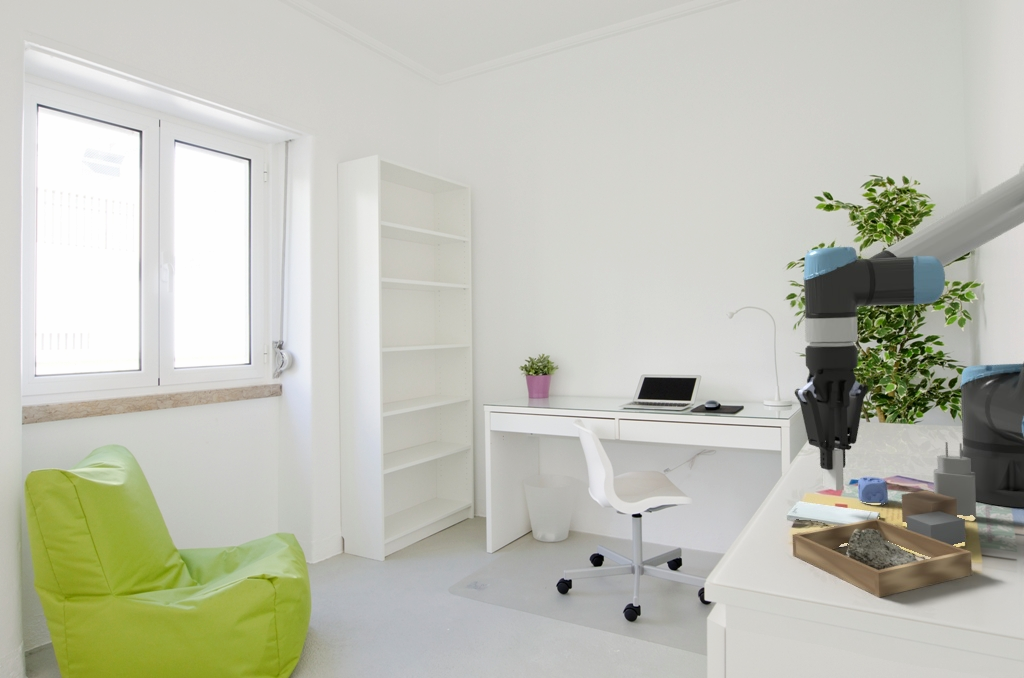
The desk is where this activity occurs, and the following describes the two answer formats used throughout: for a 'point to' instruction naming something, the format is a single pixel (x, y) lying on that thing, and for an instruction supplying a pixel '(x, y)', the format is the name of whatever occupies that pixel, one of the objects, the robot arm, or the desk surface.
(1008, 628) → the desk surface
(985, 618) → the desk surface
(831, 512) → the hard drive
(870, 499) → the decorative dice
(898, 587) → the oak frame
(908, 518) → the charcoal block
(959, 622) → the desk surface
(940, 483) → the power adapter
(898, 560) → the rock sample
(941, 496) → the walnut block
